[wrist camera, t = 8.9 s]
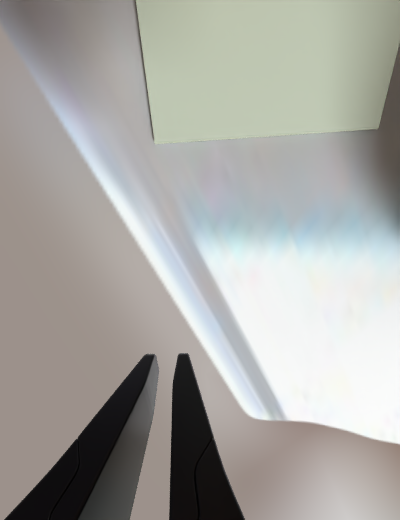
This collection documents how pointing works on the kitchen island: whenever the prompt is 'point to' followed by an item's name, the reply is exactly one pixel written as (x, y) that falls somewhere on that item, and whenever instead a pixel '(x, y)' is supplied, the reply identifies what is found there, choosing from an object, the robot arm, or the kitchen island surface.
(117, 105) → the kitchen island surface
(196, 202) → the kitchen island surface
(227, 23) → the card
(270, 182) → the kitchen island surface
